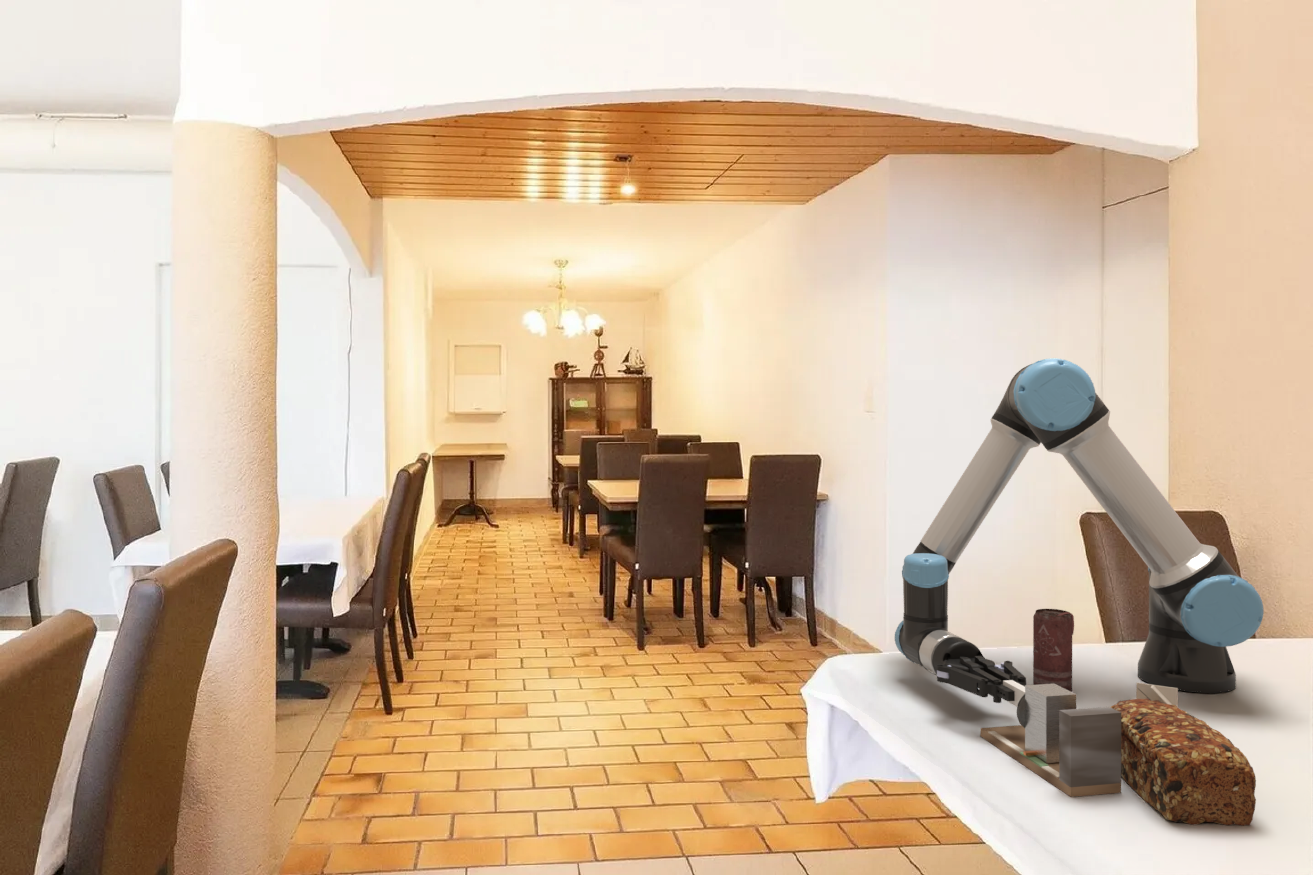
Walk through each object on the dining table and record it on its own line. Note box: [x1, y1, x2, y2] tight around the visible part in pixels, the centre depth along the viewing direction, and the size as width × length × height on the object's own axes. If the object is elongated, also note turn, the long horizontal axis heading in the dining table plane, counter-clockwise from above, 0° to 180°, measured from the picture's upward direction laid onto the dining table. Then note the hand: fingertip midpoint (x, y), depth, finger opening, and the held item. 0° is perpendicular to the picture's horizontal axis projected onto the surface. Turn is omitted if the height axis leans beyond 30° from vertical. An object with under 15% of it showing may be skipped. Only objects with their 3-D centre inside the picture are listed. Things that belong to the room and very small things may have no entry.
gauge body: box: [979, 706, 1122, 798], centre depth 126 cm, size 22×7×10 cm, turn 10°
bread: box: [1110, 698, 1257, 826], centre depth 116 cm, size 19×11×10 cm, turn 174°
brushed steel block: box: [1016, 684, 1077, 763], centre depth 126 cm, size 6×7×9 cm
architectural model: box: [1135, 682, 1179, 708], centre depth 137 cm, size 3×7×7 cm, turn 56°
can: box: [1032, 608, 1075, 692], centre depth 157 cm, size 6×6×14 cm
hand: (1032, 703), depth 129 cm, fingers closed
